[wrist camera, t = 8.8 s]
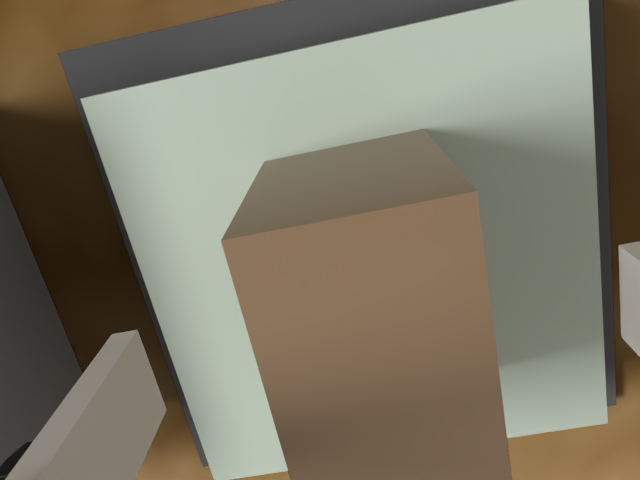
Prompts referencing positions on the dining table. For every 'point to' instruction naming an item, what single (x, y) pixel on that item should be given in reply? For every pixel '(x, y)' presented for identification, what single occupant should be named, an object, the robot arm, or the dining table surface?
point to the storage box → (28, 340)
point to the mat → (290, 34)
